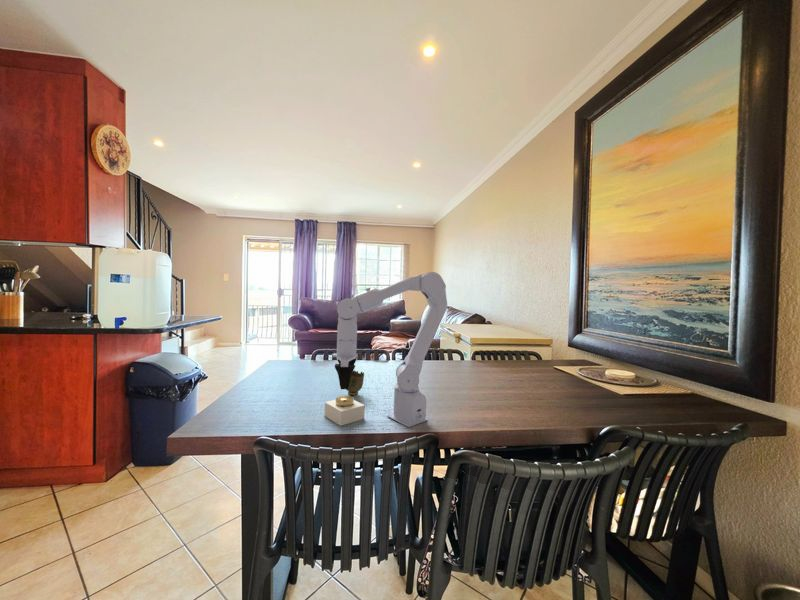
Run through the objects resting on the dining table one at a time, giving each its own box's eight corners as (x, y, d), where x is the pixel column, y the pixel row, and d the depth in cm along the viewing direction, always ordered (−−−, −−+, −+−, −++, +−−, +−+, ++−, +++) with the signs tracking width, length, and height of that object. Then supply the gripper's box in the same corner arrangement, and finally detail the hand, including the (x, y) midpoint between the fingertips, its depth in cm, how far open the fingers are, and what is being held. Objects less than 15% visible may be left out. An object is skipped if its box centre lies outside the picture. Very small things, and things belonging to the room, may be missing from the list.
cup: (367, 394, 113) (368, 372, 113) (354, 400, 107) (355, 377, 106) (351, 390, 117) (352, 369, 117) (338, 395, 110) (338, 373, 110)
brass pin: (356, 416, 92) (357, 399, 92) (341, 420, 89) (341, 403, 88) (346, 410, 96) (347, 394, 96) (331, 414, 92) (332, 397, 92)
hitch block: (364, 418, 92) (364, 405, 92) (340, 425, 86) (341, 411, 86) (347, 409, 98) (347, 396, 98) (324, 415, 93) (324, 402, 93)
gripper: (335, 335, 98) (334, 378, 99) (330, 343, 84) (328, 393, 84) (358, 336, 99) (356, 378, 99) (356, 344, 85) (354, 393, 85)
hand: (345, 385), depth 92 cm, fingers open, 6 cm apart
